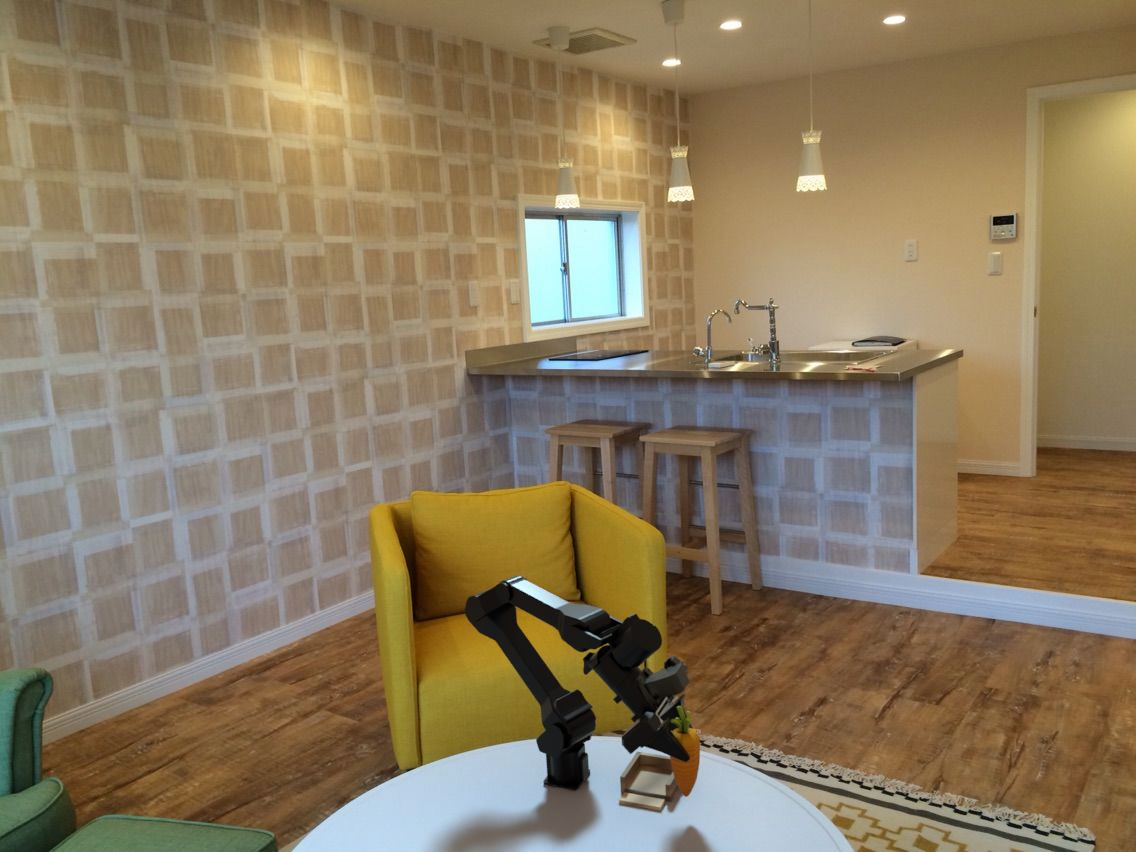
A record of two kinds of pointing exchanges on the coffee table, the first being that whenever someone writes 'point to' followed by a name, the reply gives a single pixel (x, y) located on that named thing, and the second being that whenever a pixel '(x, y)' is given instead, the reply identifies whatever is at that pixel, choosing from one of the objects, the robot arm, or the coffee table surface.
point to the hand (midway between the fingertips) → (692, 752)
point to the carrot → (691, 742)
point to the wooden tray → (648, 781)
